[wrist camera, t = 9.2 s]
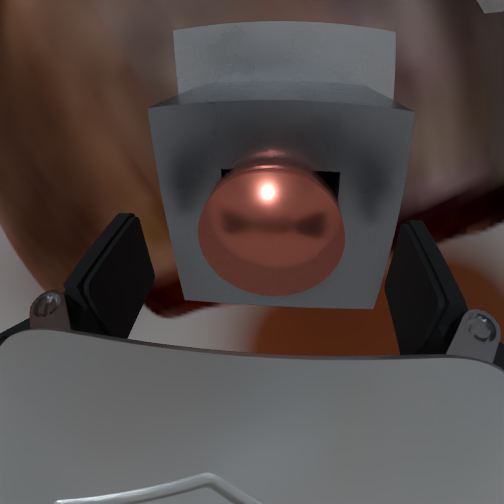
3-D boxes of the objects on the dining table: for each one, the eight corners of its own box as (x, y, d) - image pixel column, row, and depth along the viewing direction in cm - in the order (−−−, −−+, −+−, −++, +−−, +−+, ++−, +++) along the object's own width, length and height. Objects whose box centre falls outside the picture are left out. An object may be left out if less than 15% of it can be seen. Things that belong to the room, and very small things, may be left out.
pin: (235, 116, 18) (189, 172, 10) (327, 118, 17) (354, 176, 10) (239, 195, 21) (207, 291, 14) (321, 198, 21) (334, 299, 13)
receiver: (178, 31, 16) (94, 26, 8) (391, 32, 15) (465, 25, 7) (203, 249, 27) (167, 340, 19) (366, 256, 25) (388, 353, 17)
